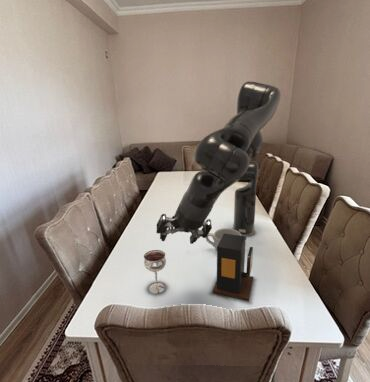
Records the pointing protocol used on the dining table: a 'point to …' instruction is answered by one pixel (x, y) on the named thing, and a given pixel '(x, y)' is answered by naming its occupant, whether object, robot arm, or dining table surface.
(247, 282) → the dispenser
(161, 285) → the wineglass
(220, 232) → the teacup
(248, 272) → the push plate
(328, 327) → the dining table surface
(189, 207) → the robot arm
